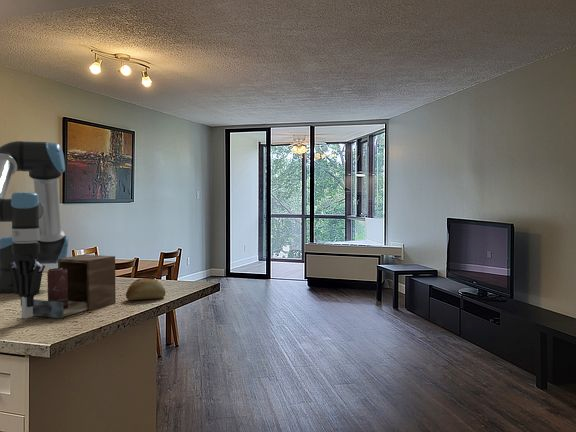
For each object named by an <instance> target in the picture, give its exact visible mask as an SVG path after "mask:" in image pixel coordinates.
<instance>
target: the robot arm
mask: <svg viewBox="0 0 576 432" xmlns="http://www.w3.org/2000/svg"><path fill="white" fill-rule="evenodd" d="M65 165H66V164H65V155H64V152H63V148H62V146H61V145H60V144H59V143H56V142H48V141H21V140H16V141H9V142H7V143H5V144H3V145H0V223H1V222H4V223H5V222H6V223H9V222H11V235H9V236H4V237H1V238H0V293H2V294H11V293H13V294H14V293H15V295H18V296H19V297H20V307H21V318H22V319H28V318H31V317H34V315H33V305H34V300H35V299H34V297H35V296H36V295H39V294H40V289H41V284H42V279H43V272H44V270H45V268H46V265H47V264H49V265H50V264H58V259H60V258H66V257H68V256H67V255H68V248H69V241H70V240H69V239H70V237H69V236H67V235H66V233H65V231H64V230H63V229H62V228H61V216H60V213H61V212H60V200H59V185H58V179H60V177H62V173H64V172H65V170H66V166H65ZM16 172H28V176H29V178H31V180H33V185H34V192H14V193H12V194H11V196H10V197H11V198H6V197H5V196H6V193H7V190H8V187H9V184H10V181H11V179H12V176H13V175H14V174H15V173H16Z"/></svg>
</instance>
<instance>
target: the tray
mask: <svg viewBox="0 0 576 432" xmlns="http://www.w3.org/2000/svg"><path fill="white" fill-rule="evenodd" d="M83 311H88V302H87V301H84V302H76V301H68V308H66V309H63V302H54V301H48V300H42V299H34V305H33V316H39V317H46V318H47V317H48V318H53V319H55V318H56V319H64V317H67V316H70V315H71V316H72V315H74V314H78V313H82V312H83Z"/></svg>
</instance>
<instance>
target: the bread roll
mask: <svg viewBox="0 0 576 432" xmlns="http://www.w3.org/2000/svg"><path fill="white" fill-rule="evenodd" d="M125 292H126V294H125V298H126V299H127V300H129V301H138V300H139V301H140V300H141V301H142V300H152V299H154V300H155V299H156V300H157V299H163V298H164V297H165V295H166V294H167V293H166V289H165V287H164V286H163V284H162V283H161V281H159V280H157V279H156V278H150V277H148V278H139V279H136V280H135V281H132V283H131V284H130V285H129V286H128V288H127V290H126V291H125Z"/></svg>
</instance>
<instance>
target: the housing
mask: <svg viewBox="0 0 576 432" xmlns="http://www.w3.org/2000/svg"><path fill="white" fill-rule="evenodd" d="M57 268H66V270H67V272H68V301H76V302H87V303H88V310H87V311H88V312H92V311H94V310H97V309H101V308H104V307H107V306H111V305H114V304H117V303H116V294H117V293H116V255H114V256H113V255H98V254H81V255H73V256H67V257H66V258H60V259H58V263H57Z"/></svg>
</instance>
